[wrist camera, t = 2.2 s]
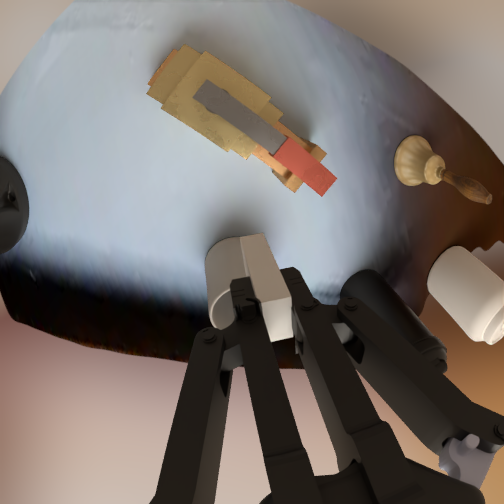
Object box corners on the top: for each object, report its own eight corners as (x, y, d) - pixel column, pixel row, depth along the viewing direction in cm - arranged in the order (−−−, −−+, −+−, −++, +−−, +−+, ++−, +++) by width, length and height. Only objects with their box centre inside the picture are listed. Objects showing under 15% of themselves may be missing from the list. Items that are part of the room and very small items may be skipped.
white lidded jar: (432, 250, 49) (500, 314, 32) (470, 239, 50) (532, 292, 33) (420, 299, 55) (472, 364, 38) (457, 285, 56) (508, 340, 39)
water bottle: (334, 317, 52) (389, 420, 32) (336, 272, 47) (409, 382, 27) (380, 303, 53) (443, 393, 33) (388, 259, 48) (468, 351, 28)
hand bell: (436, 143, 38) (511, 174, 24) (423, 189, 42) (492, 232, 28) (400, 128, 36) (482, 156, 22) (387, 180, 40) (460, 225, 26)
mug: (213, 230, 39) (220, 276, 30) (271, 243, 42) (294, 289, 33) (193, 299, 44) (195, 352, 35) (245, 307, 47) (258, 359, 38)
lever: (191, 99, 24) (190, 99, 21) (207, 79, 24) (208, 77, 21) (309, 185, 31) (321, 196, 28) (322, 168, 30) (337, 178, 27)
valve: (147, 94, 29) (135, 93, 23) (183, 47, 27) (180, 35, 21) (278, 182, 38) (294, 200, 32) (311, 141, 35) (334, 151, 29)
